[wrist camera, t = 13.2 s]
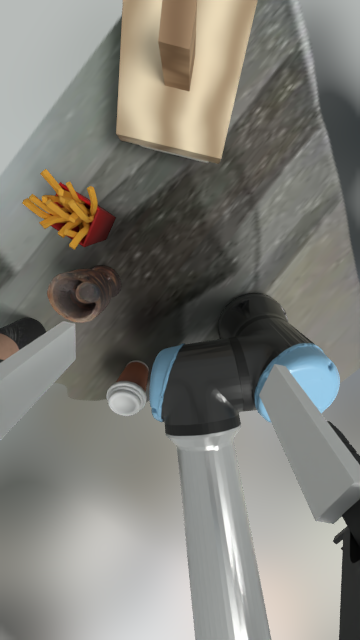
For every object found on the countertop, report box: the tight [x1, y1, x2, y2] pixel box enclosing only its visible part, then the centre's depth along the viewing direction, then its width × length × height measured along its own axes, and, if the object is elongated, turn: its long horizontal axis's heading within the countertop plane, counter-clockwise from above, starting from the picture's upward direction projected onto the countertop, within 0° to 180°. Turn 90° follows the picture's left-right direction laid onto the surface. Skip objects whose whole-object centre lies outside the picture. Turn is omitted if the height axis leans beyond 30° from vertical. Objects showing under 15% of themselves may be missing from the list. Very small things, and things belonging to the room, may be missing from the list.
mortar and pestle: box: [47, 266, 121, 323], centre depth 33 cm, size 12×9×20 cm
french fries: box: [23, 169, 116, 250], centre depth 31 cm, size 9×8×15 cm
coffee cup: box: [106, 360, 149, 416], centre depth 47 cm, size 9×9×12 cm
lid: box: [116, 0, 257, 164], centre depth 22 cm, size 15×15×8 cm
